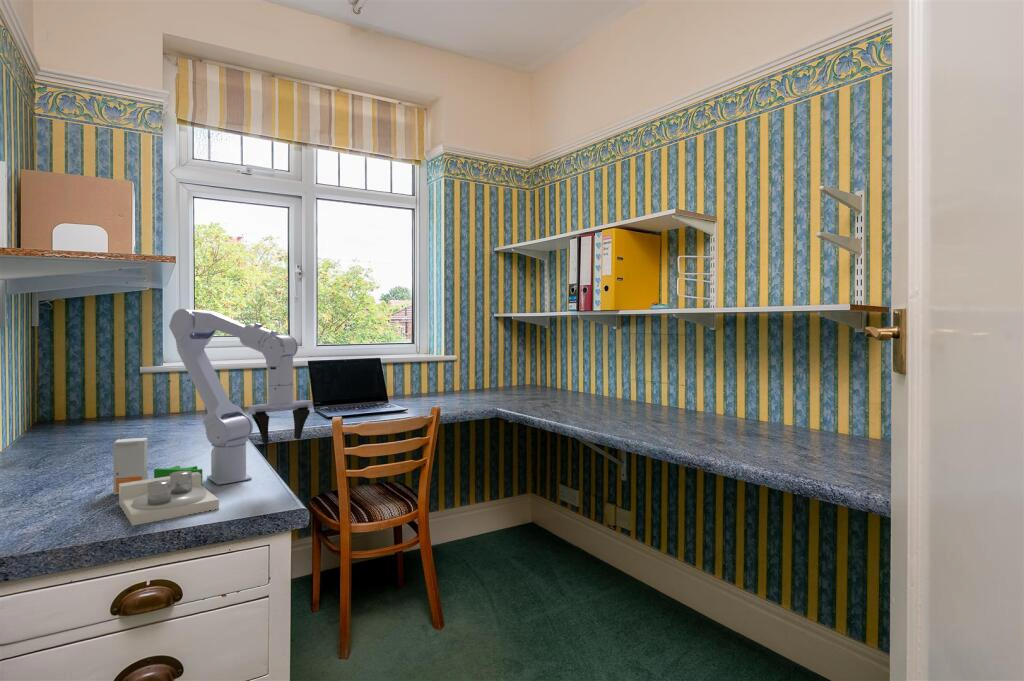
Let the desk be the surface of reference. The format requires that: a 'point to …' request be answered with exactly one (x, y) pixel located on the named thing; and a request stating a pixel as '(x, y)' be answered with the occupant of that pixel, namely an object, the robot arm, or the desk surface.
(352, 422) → the desk surface
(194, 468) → the pipe clamp
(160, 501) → the cylinder
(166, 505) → the scale
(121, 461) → the skincare box
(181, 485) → the cylinder
